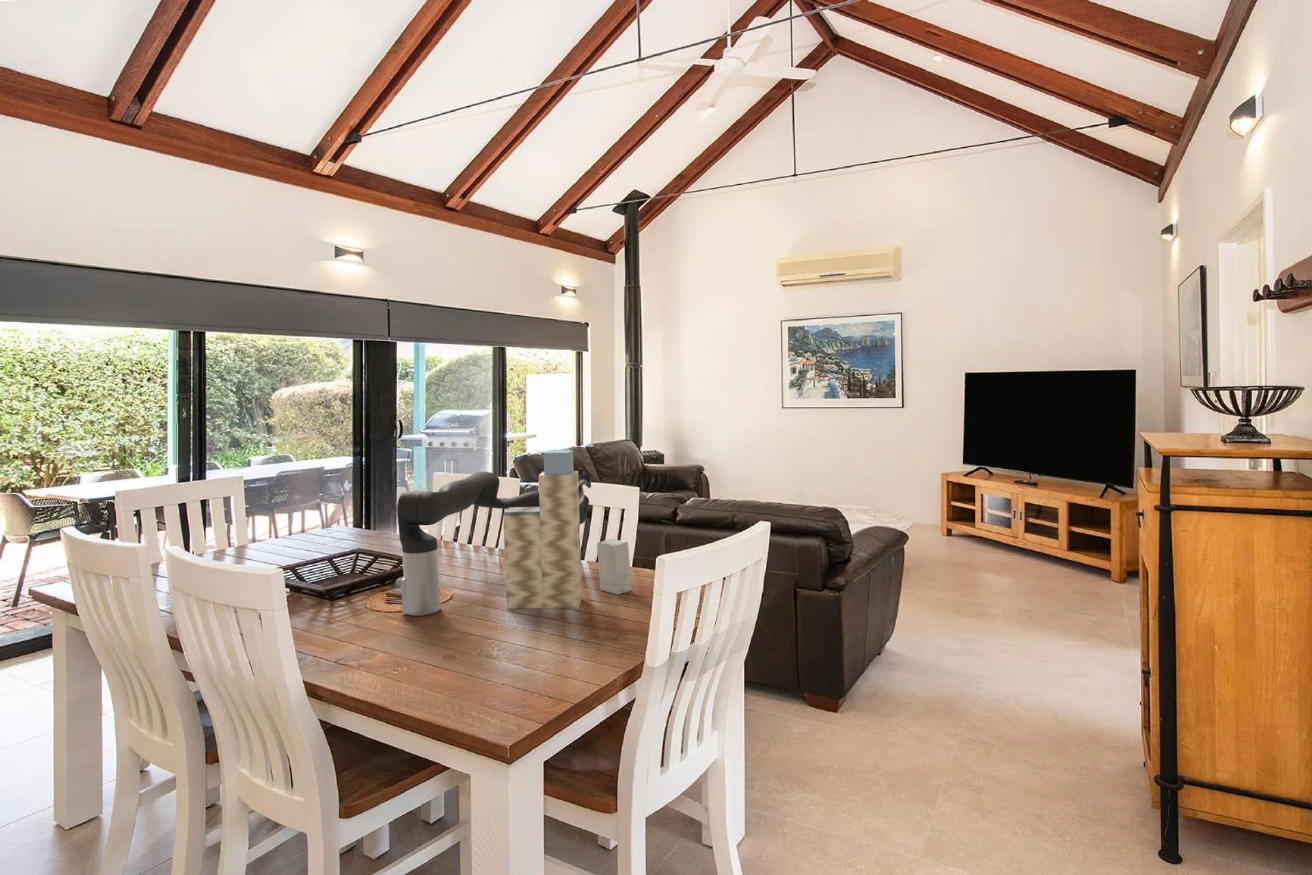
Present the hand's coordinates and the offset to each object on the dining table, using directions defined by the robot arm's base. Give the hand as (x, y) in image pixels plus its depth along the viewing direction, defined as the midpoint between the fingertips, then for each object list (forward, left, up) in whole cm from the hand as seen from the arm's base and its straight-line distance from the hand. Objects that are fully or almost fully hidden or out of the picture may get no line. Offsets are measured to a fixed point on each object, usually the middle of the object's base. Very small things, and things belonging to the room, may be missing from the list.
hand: (564, 471), depth 215 cm
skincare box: (+14, -2, -36) cm, 39 cm away
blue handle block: (0, -8, +1) cm, 8 cm away
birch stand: (-5, -13, -36) cm, 38 cm away
